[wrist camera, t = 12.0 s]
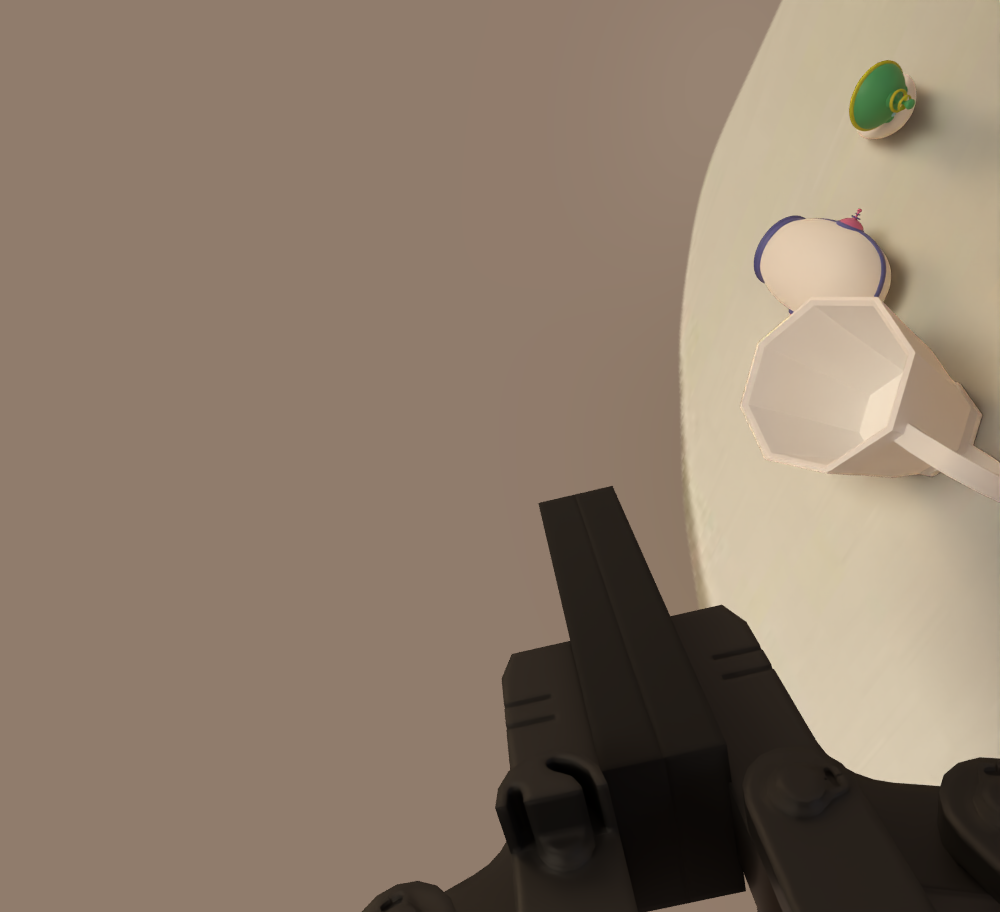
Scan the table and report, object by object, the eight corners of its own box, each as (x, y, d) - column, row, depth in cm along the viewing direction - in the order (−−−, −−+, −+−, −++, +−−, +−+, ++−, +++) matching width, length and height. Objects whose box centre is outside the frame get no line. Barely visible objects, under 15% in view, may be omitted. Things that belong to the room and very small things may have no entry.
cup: (913, 322, 33) (807, 262, 28) (1144, 437, 25) (1049, 380, 21) (820, 451, 35) (710, 414, 31) (1005, 590, 28) (894, 568, 23)
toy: (895, 76, 36) (1048, 109, 30) (775, 303, 41) (883, 369, 35) (821, 36, 33) (974, 65, 27) (703, 286, 38) (807, 354, 33)
